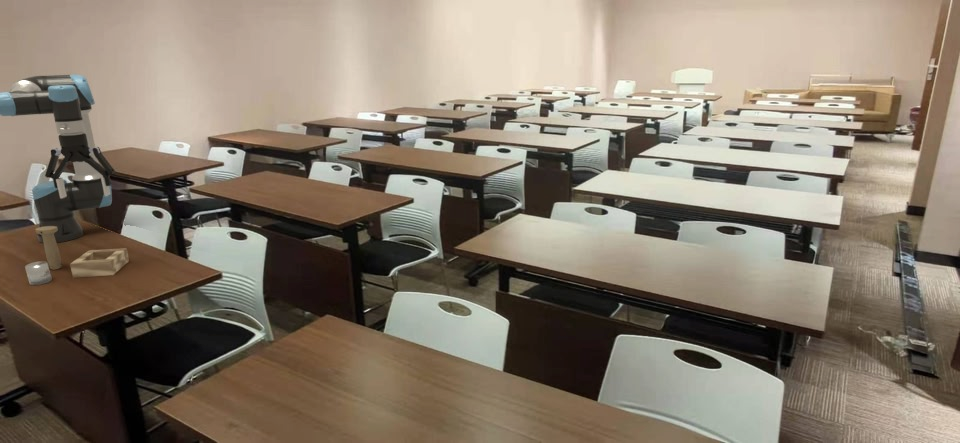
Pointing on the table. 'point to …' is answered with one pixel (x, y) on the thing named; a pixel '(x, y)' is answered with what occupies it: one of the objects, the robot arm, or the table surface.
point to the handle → (50, 246)
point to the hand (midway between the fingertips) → (85, 196)
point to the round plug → (38, 273)
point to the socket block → (99, 262)
